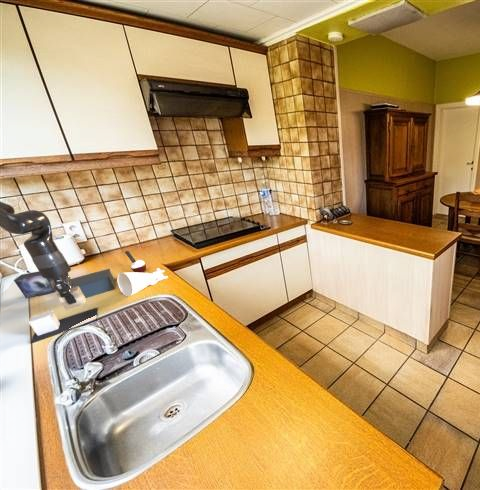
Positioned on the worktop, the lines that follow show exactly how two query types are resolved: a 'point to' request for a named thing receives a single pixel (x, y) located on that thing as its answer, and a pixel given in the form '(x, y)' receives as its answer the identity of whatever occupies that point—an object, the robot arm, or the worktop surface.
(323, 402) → the worktop surface
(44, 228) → the robot arm
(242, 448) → the worktop surface
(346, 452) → the worktop surface
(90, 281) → the storage box
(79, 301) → the cream box
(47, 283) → the small box
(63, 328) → the rubber mat
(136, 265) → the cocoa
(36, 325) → the white box
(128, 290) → the rocket engine
